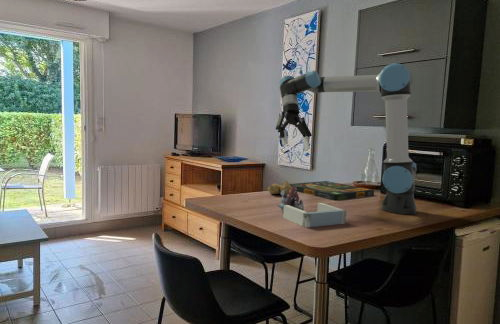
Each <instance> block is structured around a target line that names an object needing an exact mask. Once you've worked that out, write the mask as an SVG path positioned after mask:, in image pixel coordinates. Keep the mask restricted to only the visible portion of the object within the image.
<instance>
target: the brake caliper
mask: <svg viewBox="0 0 500 324" xmlns="http://www.w3.org/2000/svg"><path fill="white" fill-rule="evenodd" d="M291 193H292V194H291ZM279 195H281V198H280V203H278V204H277V207H278V208H280V209H281V211H282V212H283V210H284V205H289V206H292V207H295V208H297V209H300V210H303V211H305V210H304V209H305V207H304V203H303V200H302V199H300V197H299V194H298V192H297V191H296V189H295V187H294V186H293V187H292V189H291V191H290V193H289V195H287V194H286V190H282V192H281V193H280V194H279Z"/></svg>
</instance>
